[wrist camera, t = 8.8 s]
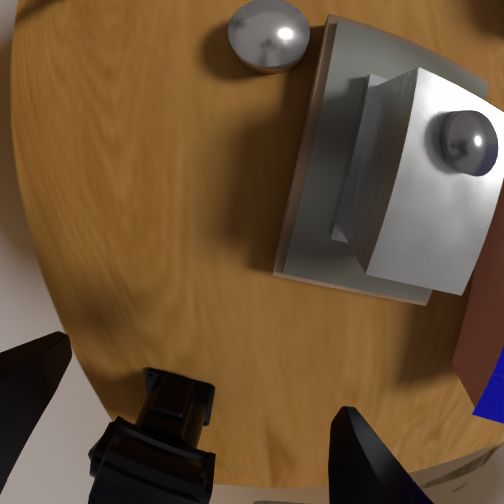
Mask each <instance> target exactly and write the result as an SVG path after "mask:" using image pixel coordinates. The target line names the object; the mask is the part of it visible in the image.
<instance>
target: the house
mask: <svg viewBox="0 0 504 504" xmlns="http://www.w3.org/2000/svg"><path fill="white" fill-rule="evenodd" d="M451 364H452V366H453V367H454V369H455V371H456V373H457V375H458V376H459V378H460V380H461V382H462V384H463V386H464V388H465V390H466V391H467V393H468V395H469V397H470V399H471V401H472V403H473V405H474V407H475V410H474V412H473V413H472V415H476V416H479V417H482V418H486V419H489V420H493V421H497V422H500V423H504V178H503V182H502V186H501V190H500V194H499V197H498V201H497V204H496V208H495V211H494V214H493V217H492V220H491V224H490V227H489V229H488V232H487V235H486V238H485V241H484V244H483V246H482V249H481V252H480V254H479V257H478V259H477V262H476V264H475V270H474V276H473V281H472V286H471V291H470V296H469V300H468V305H467V309H466V313H465V317H464V321H463V325H462V328H461V332H460V336H459V339H458V342H457V346H456V349H455V352H454V355H453V358H452V361H451Z"/></svg>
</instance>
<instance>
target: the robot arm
mask: <svg viewBox="0 0 504 504" xmlns="http://www.w3.org/2000/svg"><path fill="white" fill-rule="evenodd" d="M71 358H72V350H71V344H70V338H69V336H68V335H67V334H65V333H62V332H60V331H57V332H54V333H51V334H48V335H46V336H43V337H41V338H38V339H35V340H33V341H30V342H27V343H25V344H22V345H19V346H17V347H14V348H12V349H9V350H6V351H4V352H1V353H0V494H1V492H2V490H3V488H4V486H5V483H6V481H7V478H8V477H9V474H10V473H11V471H12V469H13V467H14V465H15V463H16V461H17V459H18V457H19V455H20V453H21V451H22V449H23V448H24V446H25V444H26V442H27V440H28V438H29V436H30V435H31V433H32V431H33V429H34V428H35V426H36V424H37V422H38V421H39V419H40V417H41V415H42V414H43V412H44V410H45V408H46V407H47V405H48V404H49V402H50V400H51V399H52V397H53V395H54V393H55V391H56V390H57V388H58V385H59V383H60V381H61V378H62V377H63V374H64V373H65V371H66V369H67V367H68V365H69V362H70V361H71ZM146 388H147V399H146V401H145V403H144V405H143V408H142V410H141V412H140V414H139V416H138V419H137V421H136V423H135V424H132V423H130V422H128V421H126V420H124V418H122V417H120V416H118V417H117V418H116V420H115V421H114V422H113V421H112V422H110V423H109V425H108V427H107V429H106V431H105V432H104V434H103V436H102V437H101V438H100V439H99V441H98V442H97V443H96V444H95V445H94V446H93V447H92V448H91V450H90V451H89V453H88V456H89V459H90V461H91V464H90V467H91V468H90V476H92V477H94V478H95V480H94V483H93V486H92V489H91V492H90V495H89V501H88V504H209V501H210V498H211V494H212V488H213V478H214V467H215V456H216V454H215V453H211V452H209V453H208V452H205V451H202V450H199V449H197V445H198V442H199V438H200V434H201V430H202V427H203V426H208V425H209V422H210V416H211V411H212V405H213V399H214V393H215V387H214V386H213V385H210V384H206V383H202V382H198V381H194V380H190V379H186V378H183V377H179V376H175V375H172V374H168V373H165V372H161V371H158V370H154V369H147V371H146ZM209 389H210V390H209ZM328 476H329V502H330V504H434V503H433V502H432V501H431V500H430V499H429V498H428V497H427V496H426V495H425V494H424V492H423V491H422V490H421V489H420V488H419V486H418V485H417V484H416V483H415V482H414V481H413V479H412V478H411V477H410V476H409V474H408V473H407V472H406V471H405V469H404V468H403V467H402V466H401V464H400V463H399V462H398V461H397V459H396V458H395V457H394V456H393V454H392V453H391V452H390V451H389V449H388V448H387V447H386V446H385V444H384V443H383V442H382V441H381V439H380V438H379V437H378V436H377V434H376V433H375V432H374V431H373V429H372V428H371V427H370V426H369V424H368V423H367V422H366V421H365V419H364V418H363V417H362V415H361V414H360V413H359V412H358V410H357V409H356V408H355V407H350V406H343V407H341V408H340V410H339V411H338V413H337V415H336V416H335V418H334V419H333V421H332V423H331V429H330V446H329V460H328Z"/></svg>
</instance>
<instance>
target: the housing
mask: <svg viewBox="0 0 504 504" xmlns="http://www.w3.org/2000/svg"><path fill="white" fill-rule="evenodd" d="M503 178H504V113H502V112H501V111H499V110H498V109H496V108H494V107H493V106H491V105H490V104H488V103H487V102H485V101H483V100H482V99H480V98H478V97H477V96H475V95H473V94H471V93H470V92H468V91H466V90H464V89H462V88H461V87H459V86H457V85H455V84H453V83H451V82H449V81H447V80H445V79H443V78H441V77H439V76H437V75H435V74H433V73H431V72H429V71H427V70H425V69H422V68H420V67H418V68H415V69H413V70H411V71H408V72H406V73H404V74H402V75H399V76H397V77H395V78H393V79H390V80H388V79H385V78H382V77H379V76H377V75H374V74H371V73H370V74H369V75H367V76H366V77H365V81H364V87H363V92H362V97H361V102H360V106H359V111H358V116H357V121H356V125H355V130H354V134H353V139H352V143H351V147H350V151H349V156H348V160H347V164H346V168H345V172H344V176H343V180H342V184H341V188H340V191H339V195H338V199H337V203H336V206H335V210H334V214H333V217H332V221H331V224H330V228H329V231H328V234H329V236H330V239H332V240H337V241H341V242H345V243H348V244H349V245H350V247H351V249H352V251H353V252H354V254H355V256H356V258H357V260H358V262H359V263H360V265H361V267H362V269H363V271H364V273H365V274H366V275H371V276H375V277H380V278H384V279H389V280H393V281H398V282H402V283H407V284H411V285H416V286H420V287H425V288H429V289H434V290H438V291H443V292H447V293H452V294H456V295H461V296H462V294H463V292H464V290H465V287H466V285H467V283H468V281H469V278H470V276H471V274H472V271H473V269H474V267H475V264H476V262H477V259H478V257H479V254H480V252H481V249H482V246H483V244H484V241H485V238H486V235H487V232H488V229H489V227H490V224H491V220H492V217H493V214H494V211H495V208H496V204H497V201H498V197H499V194H500V190H501V186H502V182H503Z"/></svg>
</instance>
